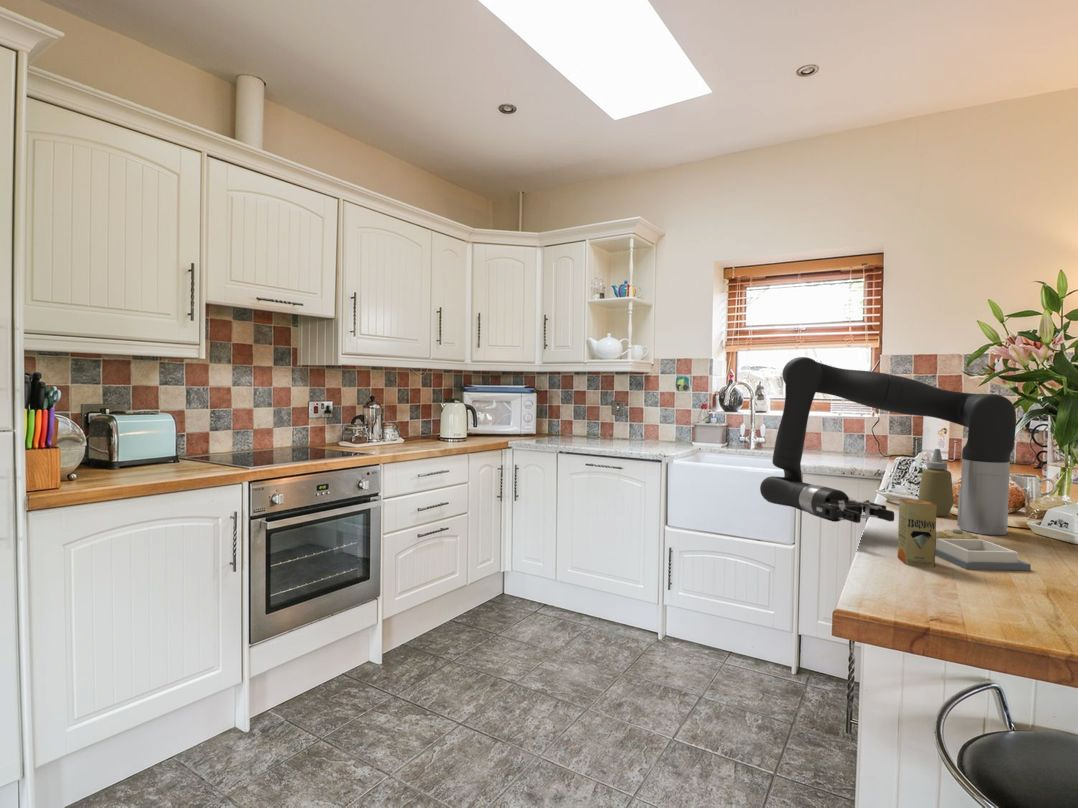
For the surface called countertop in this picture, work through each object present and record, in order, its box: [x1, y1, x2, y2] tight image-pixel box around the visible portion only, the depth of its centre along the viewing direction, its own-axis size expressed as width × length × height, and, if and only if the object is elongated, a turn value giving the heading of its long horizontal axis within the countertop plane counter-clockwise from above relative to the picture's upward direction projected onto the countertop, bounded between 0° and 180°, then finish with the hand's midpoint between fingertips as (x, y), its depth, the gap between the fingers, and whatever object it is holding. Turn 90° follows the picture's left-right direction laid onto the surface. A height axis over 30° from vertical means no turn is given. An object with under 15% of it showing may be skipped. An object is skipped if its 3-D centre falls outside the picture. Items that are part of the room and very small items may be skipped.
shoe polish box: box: [897, 498, 937, 568], centre depth 115 cm, size 5×5×12 cm
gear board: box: [935, 529, 1032, 571], centre depth 121 cm, size 20×12×4 cm, turn 178°
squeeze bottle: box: [917, 448, 955, 517], centre depth 159 cm, size 8×8×18 cm
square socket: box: [936, 538, 1019, 563], centre depth 116 cm, size 9×9×2 cm
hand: (876, 517), depth 125 cm, fingers open, 8 cm apart
